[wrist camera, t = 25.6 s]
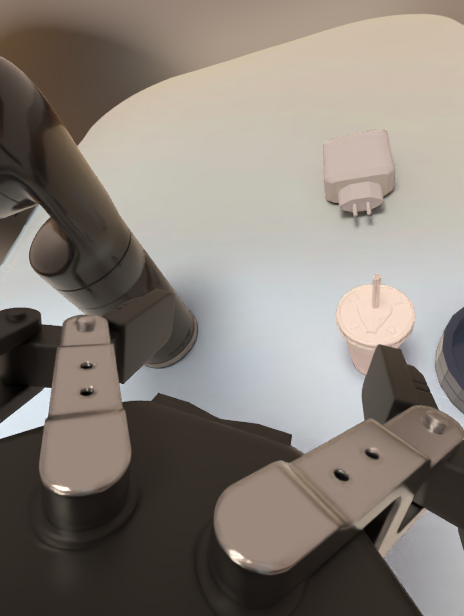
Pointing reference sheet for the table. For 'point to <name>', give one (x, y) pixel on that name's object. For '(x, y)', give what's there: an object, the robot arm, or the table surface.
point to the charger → (358, 170)
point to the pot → (452, 360)
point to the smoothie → (373, 320)
